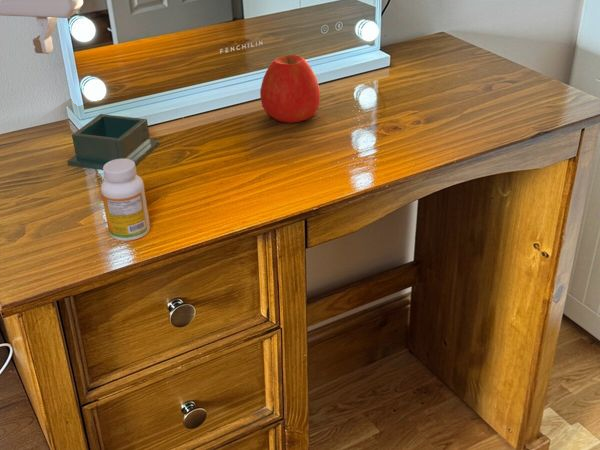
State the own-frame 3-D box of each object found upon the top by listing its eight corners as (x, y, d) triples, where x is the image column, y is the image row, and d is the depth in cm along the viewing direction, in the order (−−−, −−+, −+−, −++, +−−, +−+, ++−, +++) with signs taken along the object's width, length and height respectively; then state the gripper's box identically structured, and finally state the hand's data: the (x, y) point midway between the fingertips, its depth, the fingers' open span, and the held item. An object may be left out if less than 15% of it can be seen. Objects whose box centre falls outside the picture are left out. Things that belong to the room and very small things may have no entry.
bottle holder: (68, 165, 118) (62, 136, 116) (103, 137, 127) (98, 110, 124) (127, 173, 115) (122, 144, 113) (159, 144, 124) (155, 117, 121)
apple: (280, 100, 138) (277, 43, 133) (331, 109, 134) (330, 51, 129) (251, 121, 131) (246, 62, 125) (304, 131, 126) (302, 70, 121)
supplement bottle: (119, 219, 104) (107, 154, 98) (156, 222, 102) (147, 157, 97) (102, 240, 99) (89, 173, 94) (141, 243, 98) (130, 176, 93)
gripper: (80, -75, 86) (100, 45, 93) (-83, -78, 89) (-52, 38, 96) (54, -64, 80) (77, 63, 87) (-118, -67, 84) (-83, 55, 91)
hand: (8, 50), depth 92 cm, fingers open, 8 cm apart
